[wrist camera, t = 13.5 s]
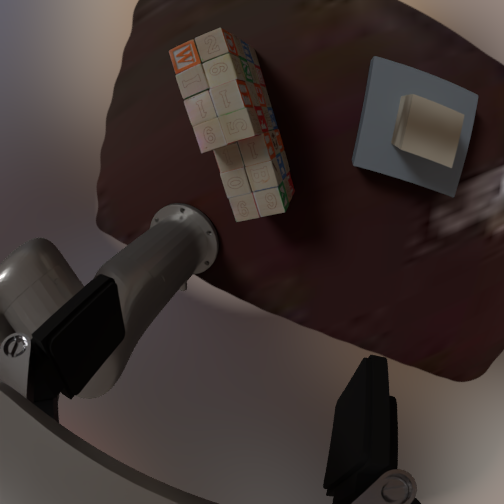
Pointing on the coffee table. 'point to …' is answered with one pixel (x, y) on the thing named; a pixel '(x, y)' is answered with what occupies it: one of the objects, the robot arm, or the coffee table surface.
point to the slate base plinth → (384, 118)
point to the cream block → (427, 129)
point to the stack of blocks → (235, 121)
